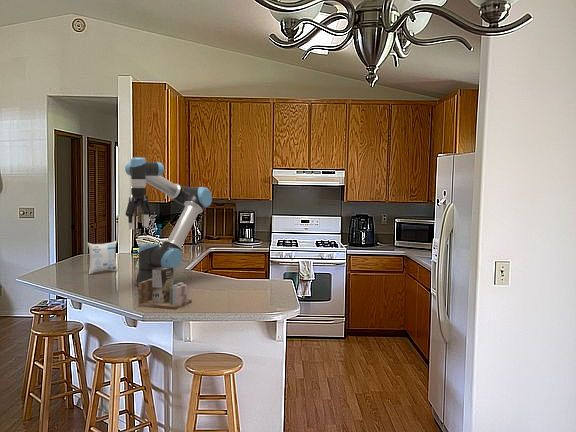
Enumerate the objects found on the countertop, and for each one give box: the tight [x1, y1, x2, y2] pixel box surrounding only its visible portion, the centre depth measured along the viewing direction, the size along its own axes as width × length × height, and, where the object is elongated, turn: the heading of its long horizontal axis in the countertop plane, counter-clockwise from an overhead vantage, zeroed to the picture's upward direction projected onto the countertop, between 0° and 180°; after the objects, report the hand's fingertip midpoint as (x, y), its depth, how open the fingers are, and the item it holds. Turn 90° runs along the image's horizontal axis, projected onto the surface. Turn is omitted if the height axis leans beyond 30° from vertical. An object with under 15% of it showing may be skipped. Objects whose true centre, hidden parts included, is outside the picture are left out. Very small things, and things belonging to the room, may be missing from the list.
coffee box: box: [152, 267, 174, 303], centre depth 268 cm, size 9×6×16 cm
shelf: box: [137, 279, 193, 310], centre depth 267 cm, size 16×20×11 cm
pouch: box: [86, 240, 118, 275], centre depth 347 cm, size 8×19×20 cm, turn 128°
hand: (139, 228), depth 287 cm, fingers open, 13 cm apart
